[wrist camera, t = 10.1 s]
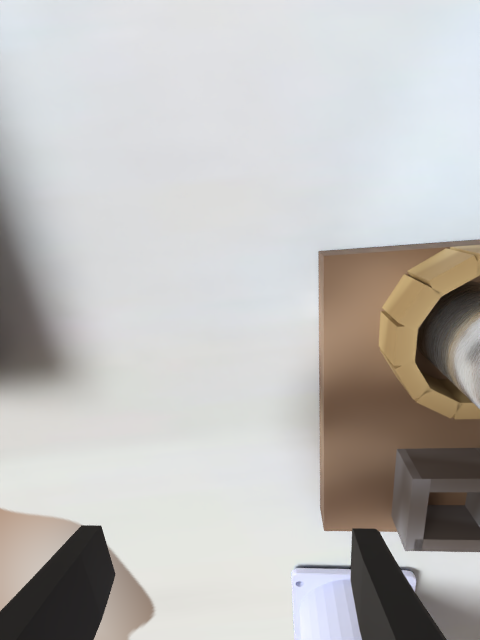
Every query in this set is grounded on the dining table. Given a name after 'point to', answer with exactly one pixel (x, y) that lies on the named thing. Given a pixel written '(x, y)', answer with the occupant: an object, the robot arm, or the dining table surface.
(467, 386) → the steel peg
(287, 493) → the dining table surface
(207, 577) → the dining table surface
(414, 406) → the socket board
